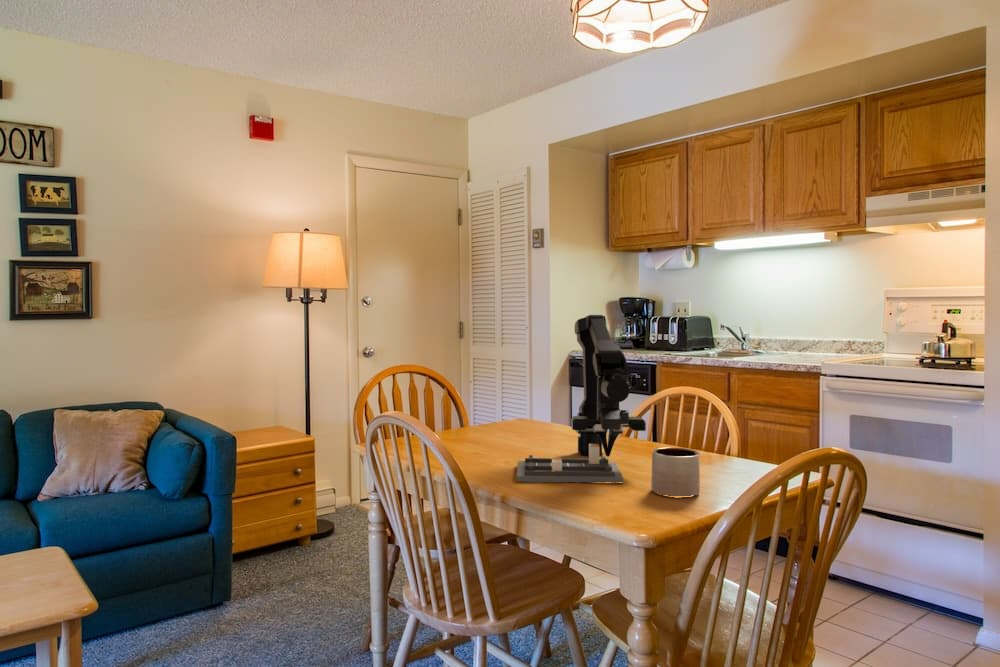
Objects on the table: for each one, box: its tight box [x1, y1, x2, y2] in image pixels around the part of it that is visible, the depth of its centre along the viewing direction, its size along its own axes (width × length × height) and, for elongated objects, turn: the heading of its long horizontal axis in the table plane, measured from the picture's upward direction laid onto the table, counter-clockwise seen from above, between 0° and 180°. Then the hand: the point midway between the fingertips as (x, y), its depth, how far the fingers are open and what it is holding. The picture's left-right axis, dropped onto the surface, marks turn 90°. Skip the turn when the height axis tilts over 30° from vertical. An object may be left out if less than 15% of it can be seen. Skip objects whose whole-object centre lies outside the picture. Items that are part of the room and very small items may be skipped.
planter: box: [650, 446, 701, 496], centre depth 157 cm, size 11×11×10 cm
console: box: [516, 454, 624, 484], centre depth 174 cm, size 26×16×4 cm, turn 87°
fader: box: [588, 444, 600, 464], centre depth 177 cm, size 2×4×5 cm, turn 177°
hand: (607, 456), depth 177 cm, fingers closed
